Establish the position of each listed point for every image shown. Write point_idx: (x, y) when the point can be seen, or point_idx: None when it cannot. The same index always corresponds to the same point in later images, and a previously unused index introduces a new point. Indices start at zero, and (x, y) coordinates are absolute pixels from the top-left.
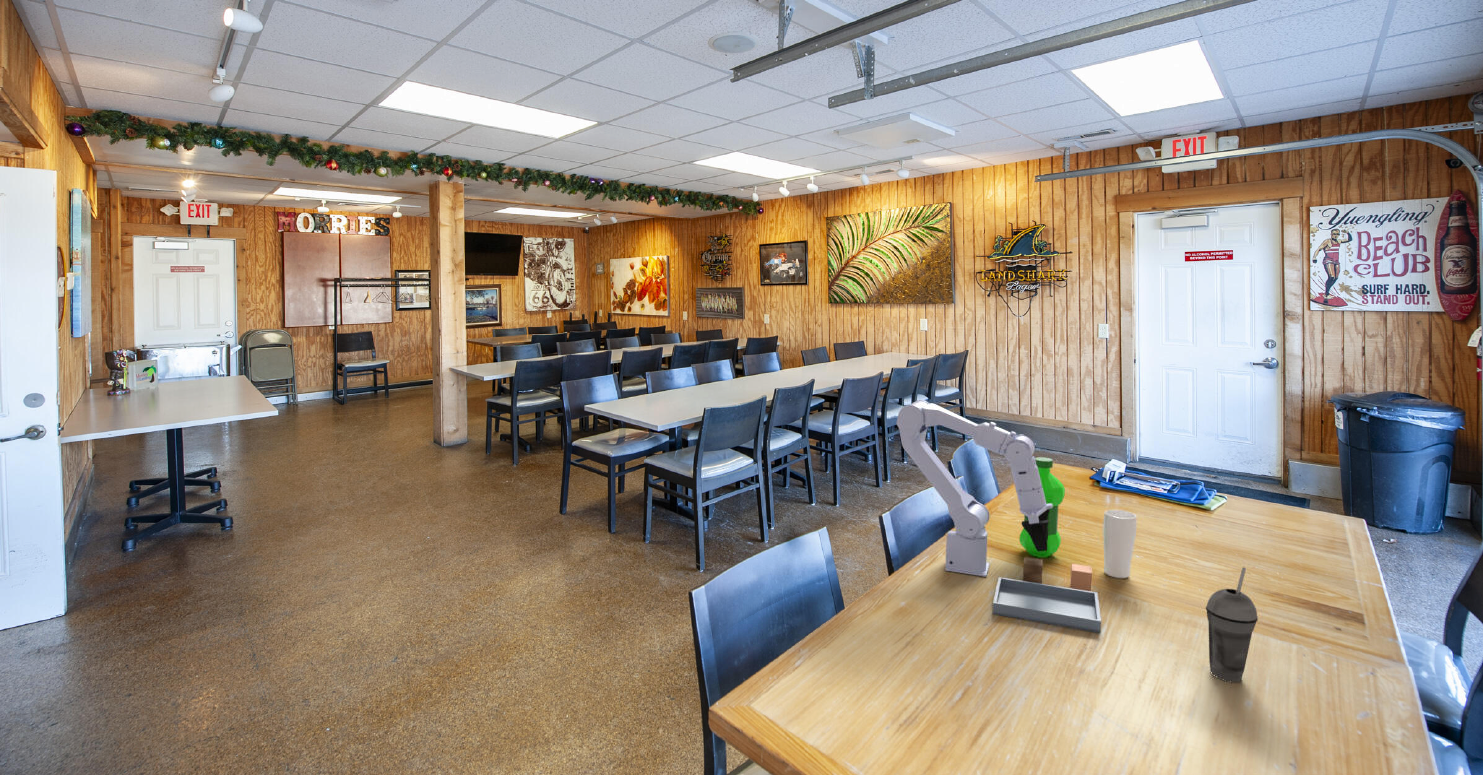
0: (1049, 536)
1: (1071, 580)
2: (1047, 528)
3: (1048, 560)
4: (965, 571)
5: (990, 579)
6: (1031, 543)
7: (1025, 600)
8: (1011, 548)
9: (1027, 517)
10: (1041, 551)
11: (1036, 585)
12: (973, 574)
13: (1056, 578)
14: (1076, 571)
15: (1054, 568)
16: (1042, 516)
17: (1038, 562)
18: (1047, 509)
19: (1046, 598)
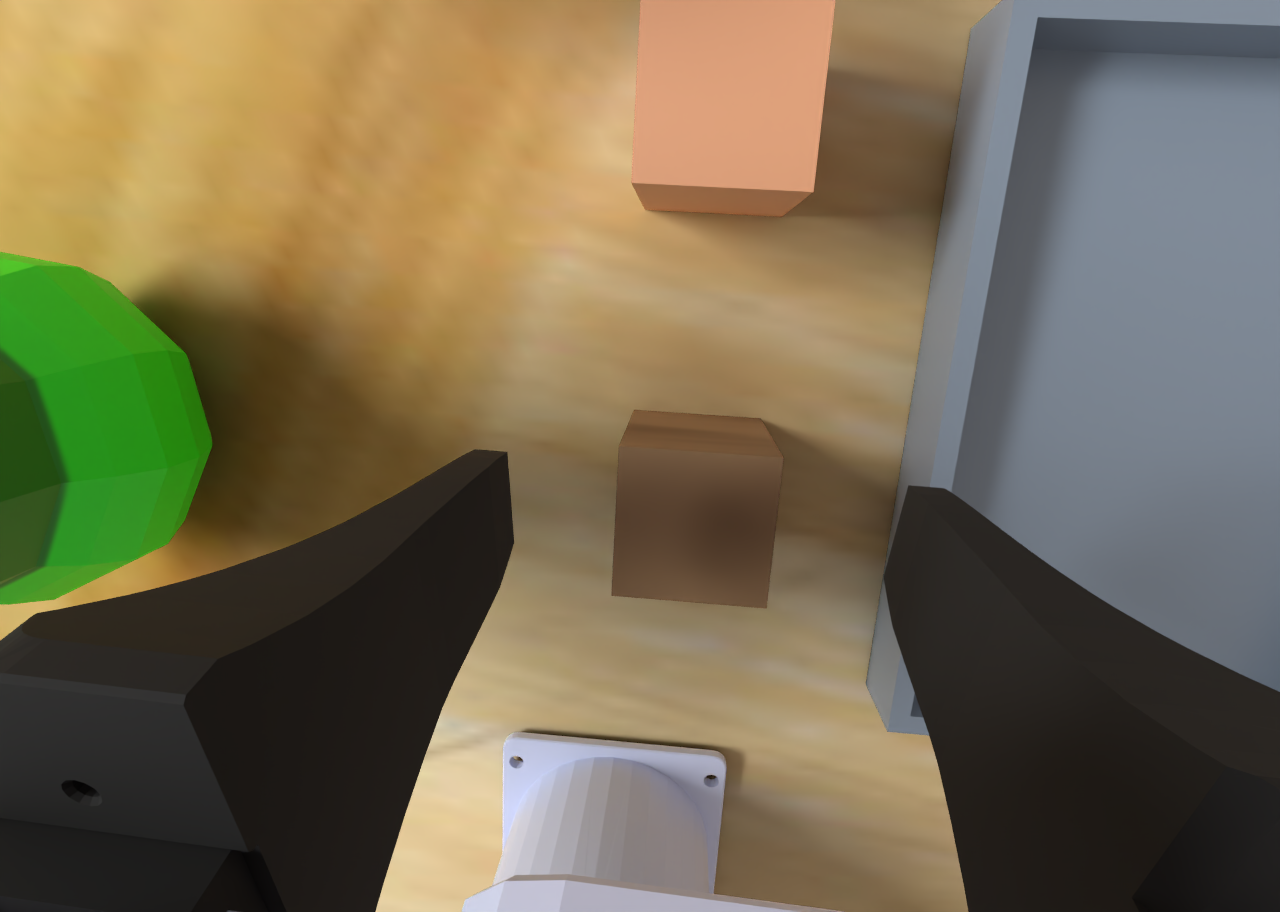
0: (40, 367)
1: (794, 204)
2: (407, 501)
3: (234, 345)
4: (708, 868)
5: (745, 723)
6: (165, 505)
7: (1083, 539)
8: (128, 587)
9: (377, 892)
10: (201, 410)
11: (946, 481)
12: (720, 819)
13: (570, 306)
14: (816, 147)
15: (377, 310)
16: (329, 699)
17: (706, 487)
18: (171, 724)
19: (1014, 402)
